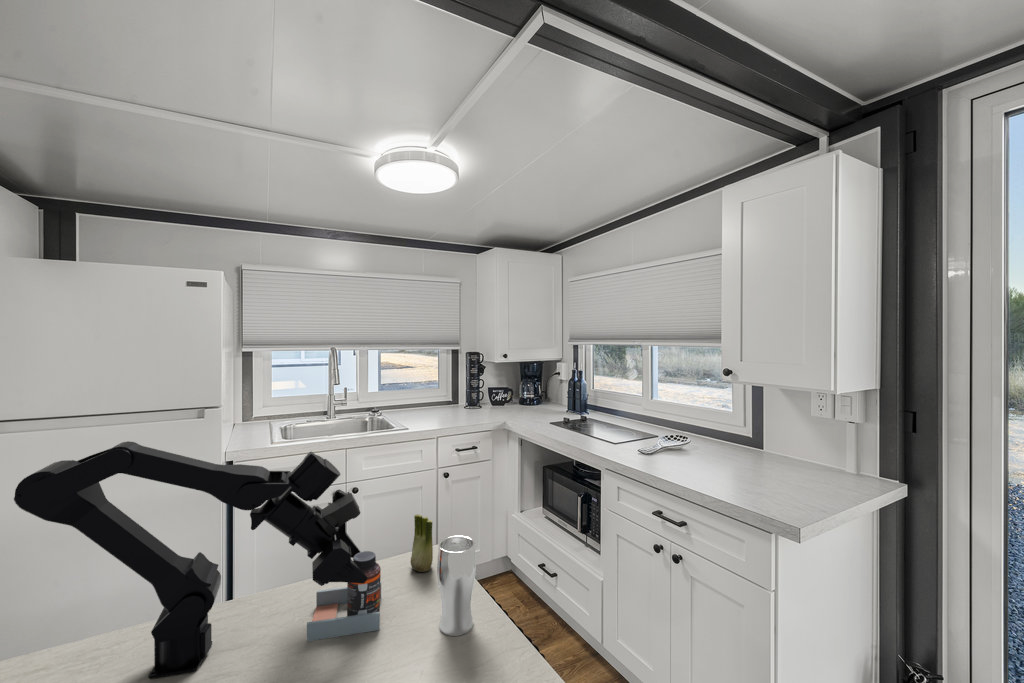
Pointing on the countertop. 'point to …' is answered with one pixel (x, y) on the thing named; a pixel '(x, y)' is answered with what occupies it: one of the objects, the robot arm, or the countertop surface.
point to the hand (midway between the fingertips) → (363, 567)
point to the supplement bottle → (365, 586)
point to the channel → (331, 626)
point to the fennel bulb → (422, 544)
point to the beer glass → (456, 583)
